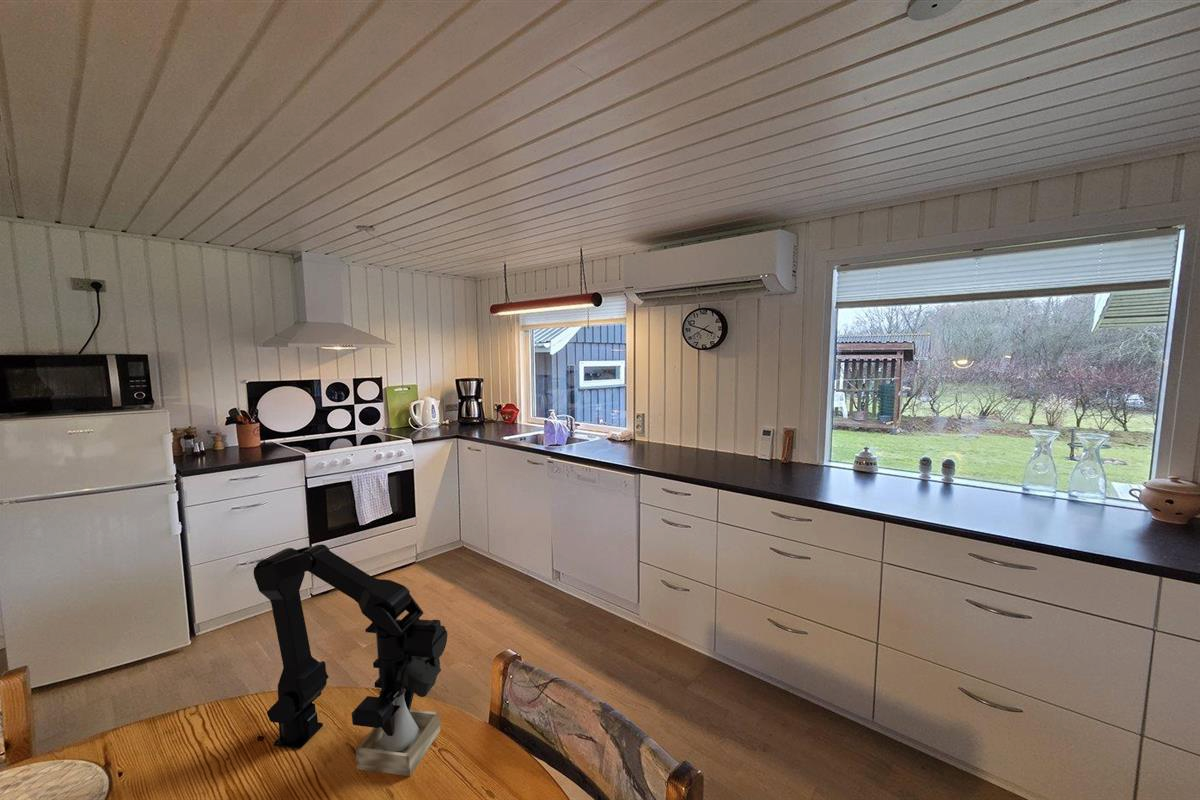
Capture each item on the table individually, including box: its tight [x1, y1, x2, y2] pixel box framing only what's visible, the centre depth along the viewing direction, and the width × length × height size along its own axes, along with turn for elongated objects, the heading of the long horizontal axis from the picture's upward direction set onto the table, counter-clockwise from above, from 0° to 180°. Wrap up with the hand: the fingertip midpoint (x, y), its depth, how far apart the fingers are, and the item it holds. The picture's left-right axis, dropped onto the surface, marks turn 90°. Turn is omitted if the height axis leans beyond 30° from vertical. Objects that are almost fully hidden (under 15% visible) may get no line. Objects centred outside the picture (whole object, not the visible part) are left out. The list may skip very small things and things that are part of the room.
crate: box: [355, 708, 441, 777], centre depth 96 cm, size 11×11×4 cm
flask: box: [379, 689, 419, 752], centre depth 96 cm, size 7×7×10 cm
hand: (398, 725), depth 96 cm, fingers closed on flask, 5 cm apart
